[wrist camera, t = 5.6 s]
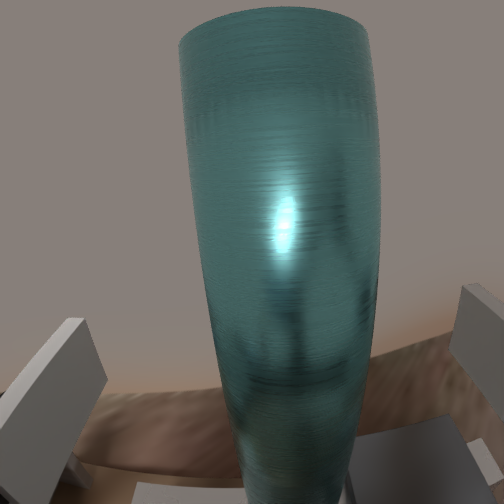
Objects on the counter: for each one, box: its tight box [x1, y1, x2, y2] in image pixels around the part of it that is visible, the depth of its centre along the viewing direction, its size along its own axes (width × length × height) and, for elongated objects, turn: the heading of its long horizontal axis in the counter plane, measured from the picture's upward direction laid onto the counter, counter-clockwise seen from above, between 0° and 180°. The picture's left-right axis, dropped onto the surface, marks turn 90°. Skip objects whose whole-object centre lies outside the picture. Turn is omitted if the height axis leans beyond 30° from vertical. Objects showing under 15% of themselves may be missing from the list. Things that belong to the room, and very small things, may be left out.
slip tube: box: [131, 7, 504, 504], centre depth 8 cm, size 18×4×19 cm, turn 90°
